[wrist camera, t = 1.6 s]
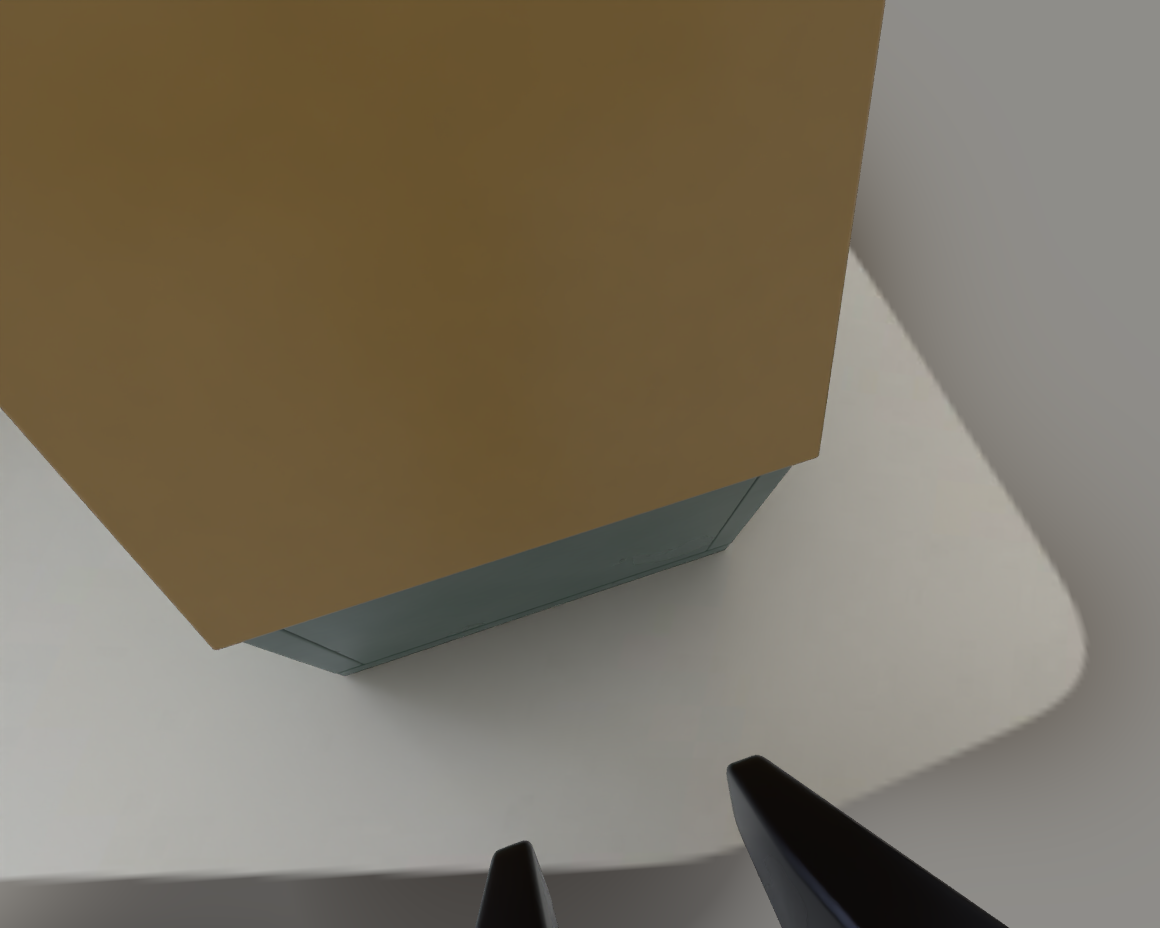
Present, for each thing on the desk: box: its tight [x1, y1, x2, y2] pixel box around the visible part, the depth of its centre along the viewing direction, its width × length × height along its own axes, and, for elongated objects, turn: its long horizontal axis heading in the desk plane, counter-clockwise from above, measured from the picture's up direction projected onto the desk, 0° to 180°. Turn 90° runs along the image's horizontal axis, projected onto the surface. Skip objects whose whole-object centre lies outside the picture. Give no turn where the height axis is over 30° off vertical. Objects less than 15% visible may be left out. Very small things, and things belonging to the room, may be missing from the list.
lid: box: [0, 0, 885, 650], centre depth 9 cm, size 14×12×1 cm
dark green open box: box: [244, 466, 792, 676], centre depth 21 cm, size 14×12×8 cm
